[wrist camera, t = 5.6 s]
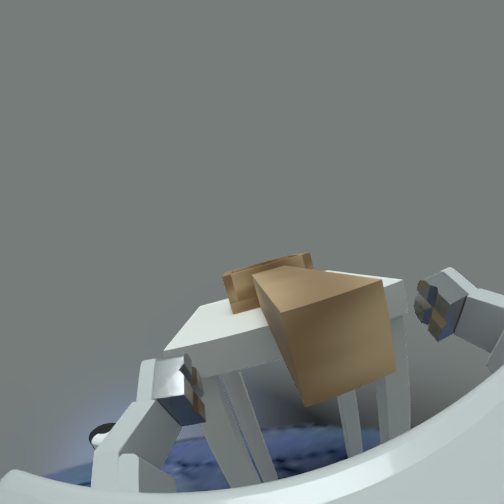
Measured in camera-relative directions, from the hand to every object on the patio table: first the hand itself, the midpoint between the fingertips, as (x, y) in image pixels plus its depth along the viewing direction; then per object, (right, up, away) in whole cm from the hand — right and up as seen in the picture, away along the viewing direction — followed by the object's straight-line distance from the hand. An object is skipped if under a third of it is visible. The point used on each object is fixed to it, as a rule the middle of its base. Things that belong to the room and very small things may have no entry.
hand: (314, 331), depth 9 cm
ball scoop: (0, -1, +7) cm, 7 cm away
